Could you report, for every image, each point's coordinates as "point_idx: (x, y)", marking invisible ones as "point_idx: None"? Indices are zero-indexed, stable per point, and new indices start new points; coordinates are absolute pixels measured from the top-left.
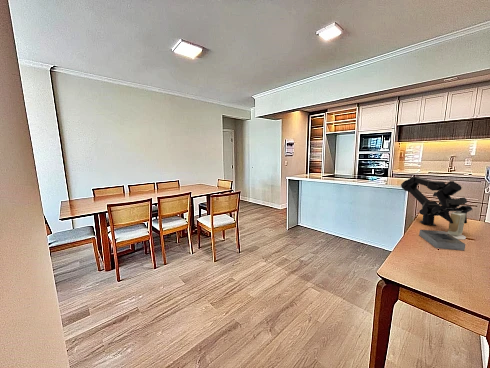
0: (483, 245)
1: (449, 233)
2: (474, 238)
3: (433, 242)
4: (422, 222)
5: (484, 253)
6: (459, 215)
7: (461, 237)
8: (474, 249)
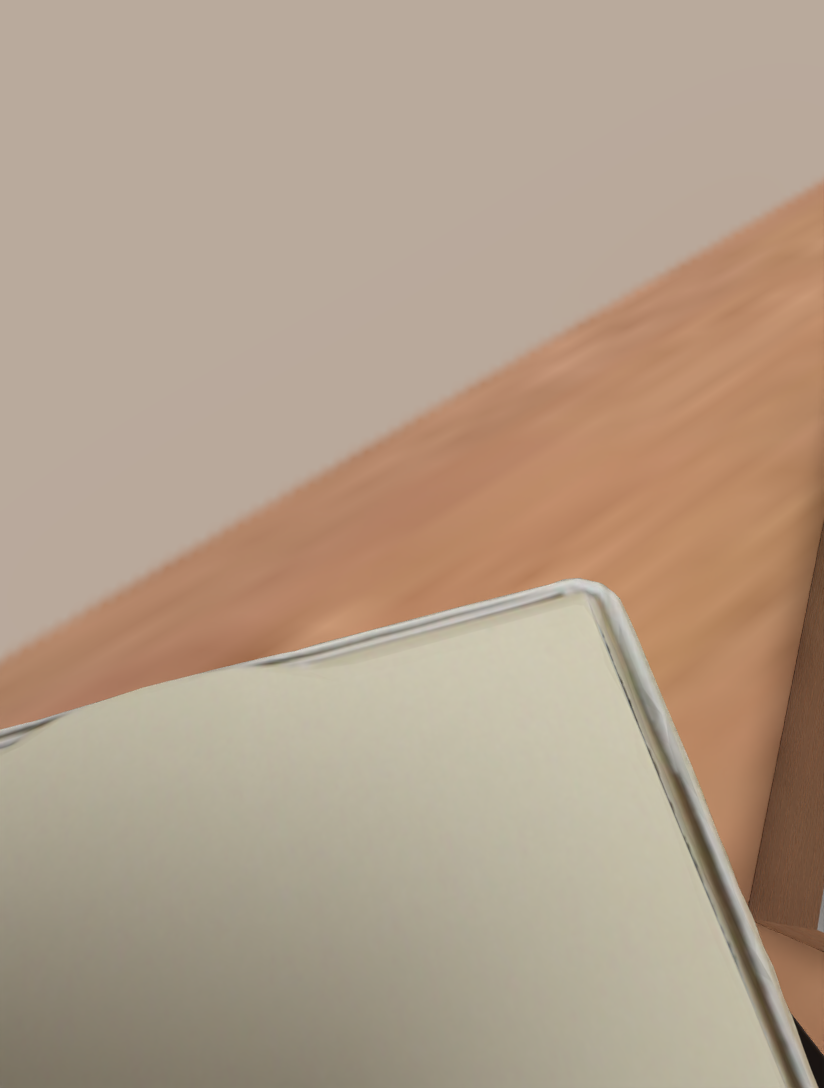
0: (347, 479)
1: None
2: None
3: None
4: None
5: (629, 302)
6: (631, 631)
7: None
8: (646, 396)
